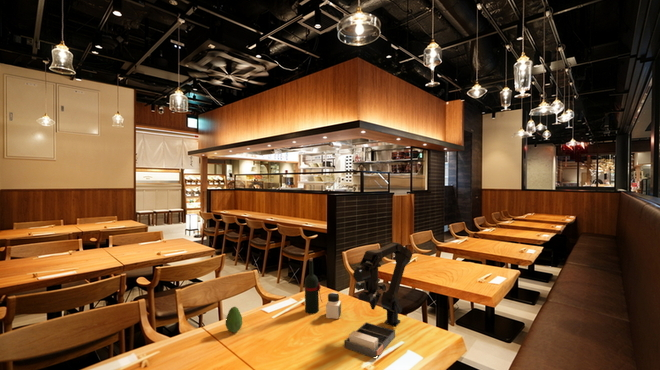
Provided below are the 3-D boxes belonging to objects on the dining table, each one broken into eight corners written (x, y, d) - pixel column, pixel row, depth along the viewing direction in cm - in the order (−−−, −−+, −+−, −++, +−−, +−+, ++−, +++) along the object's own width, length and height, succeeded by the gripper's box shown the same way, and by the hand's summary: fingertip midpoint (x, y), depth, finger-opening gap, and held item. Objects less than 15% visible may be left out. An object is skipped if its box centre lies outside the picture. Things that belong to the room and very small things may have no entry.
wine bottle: (322, 313, 160) (321, 260, 160) (304, 314, 160) (303, 260, 160) (323, 307, 168) (322, 256, 168) (305, 308, 168) (304, 256, 168)
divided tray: (366, 328, 143) (366, 322, 143) (395, 337, 134) (395, 330, 134) (344, 347, 126) (344, 340, 126) (376, 359, 117) (376, 352, 117)
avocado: (237, 326, 147) (237, 302, 147) (245, 331, 142) (244, 307, 142) (222, 331, 142) (222, 307, 142) (229, 337, 136) (229, 312, 136)
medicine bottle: (339, 319, 153) (338, 296, 153) (326, 318, 154) (325, 295, 154) (341, 313, 160) (340, 291, 160) (328, 312, 161) (328, 291, 161)
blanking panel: (354, 341, 130) (353, 330, 130) (378, 350, 123) (378, 338, 123) (349, 345, 126) (349, 334, 126) (374, 354, 120) (374, 342, 120)
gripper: (366, 269, 151) (367, 299, 151) (348, 279, 136) (348, 312, 136) (386, 273, 145) (386, 304, 145) (369, 283, 130) (369, 318, 130)
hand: (373, 309), depth 139 cm, fingers closed
